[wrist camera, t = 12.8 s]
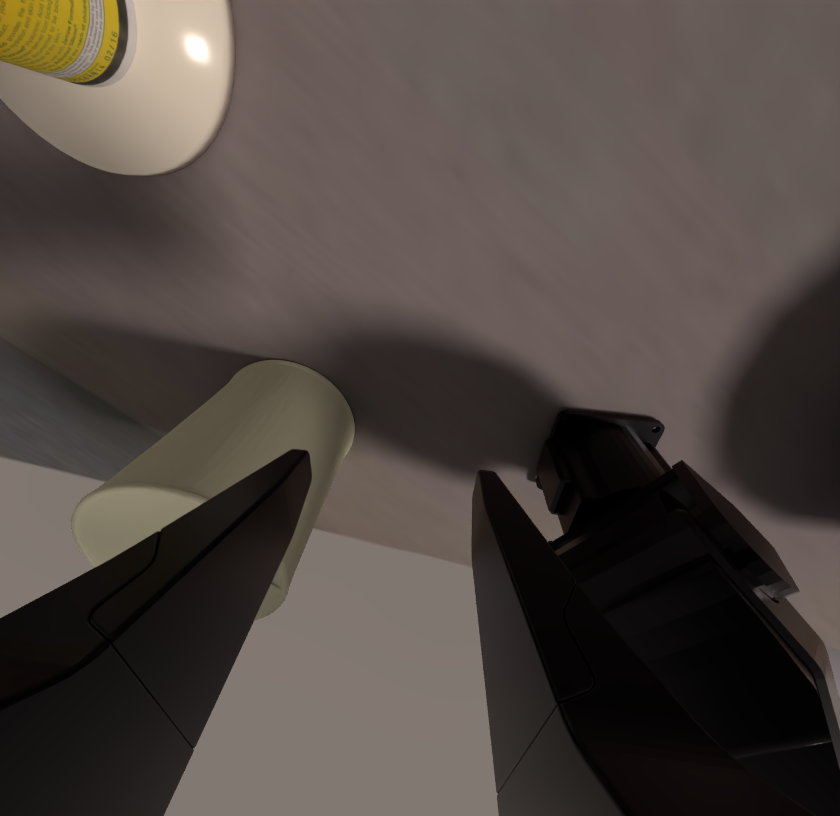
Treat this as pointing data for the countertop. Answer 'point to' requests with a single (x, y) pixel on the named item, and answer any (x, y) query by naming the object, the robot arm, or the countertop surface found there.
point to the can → (225, 462)
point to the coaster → (140, 94)
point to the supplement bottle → (70, 38)
